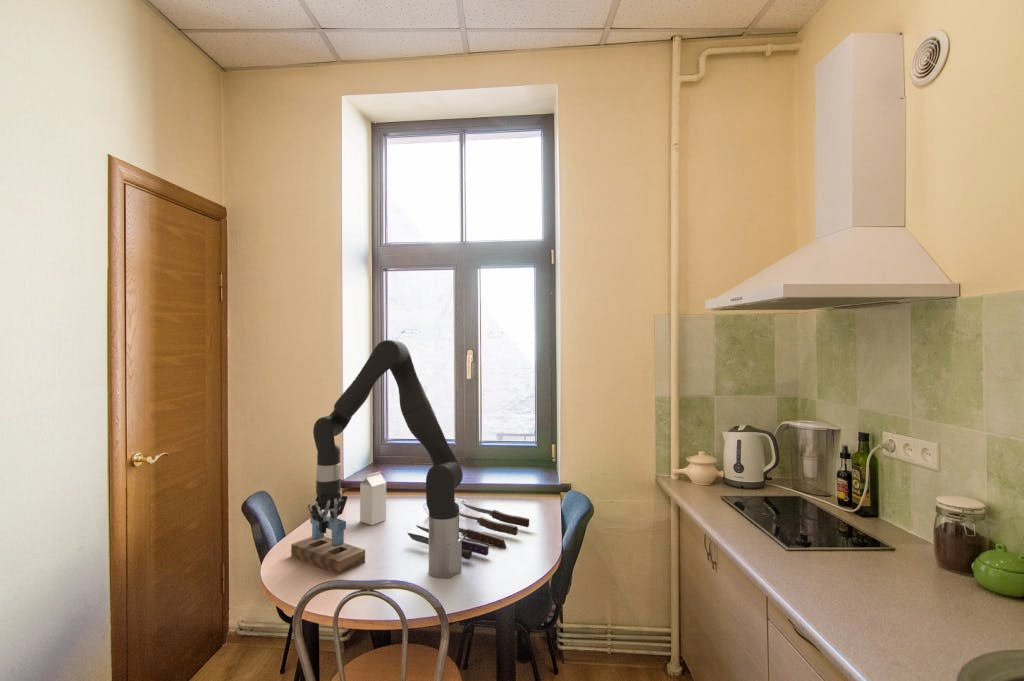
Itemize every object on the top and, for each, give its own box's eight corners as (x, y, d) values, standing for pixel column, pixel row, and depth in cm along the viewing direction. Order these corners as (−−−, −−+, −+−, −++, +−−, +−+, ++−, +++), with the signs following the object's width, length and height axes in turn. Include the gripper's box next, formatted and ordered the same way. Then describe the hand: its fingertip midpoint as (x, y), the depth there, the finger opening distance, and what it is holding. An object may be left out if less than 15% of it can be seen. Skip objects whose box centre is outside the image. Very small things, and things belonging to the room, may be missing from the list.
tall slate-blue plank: (345, 544, 153) (345, 521, 153) (337, 548, 151) (338, 523, 151) (318, 535, 161) (318, 513, 161) (310, 538, 158) (310, 515, 158)
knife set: (460, 512, 198) (461, 494, 197) (531, 532, 181) (531, 512, 180) (399, 543, 168) (400, 521, 167) (477, 571, 151) (477, 546, 150)
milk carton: (386, 520, 192) (386, 472, 192) (371, 525, 186) (372, 476, 186) (374, 517, 196) (374, 469, 196) (359, 522, 190) (360, 473, 190)
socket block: (365, 562, 153) (365, 549, 153) (338, 574, 145) (338, 561, 145) (317, 546, 166) (318, 534, 166) (291, 556, 158) (291, 544, 158)
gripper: (316, 484, 148) (316, 540, 148) (353, 474, 160) (353, 526, 160) (301, 480, 152) (301, 535, 152) (339, 471, 164) (338, 522, 164)
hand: (327, 530), depth 156 cm, fingers closed on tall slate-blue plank, 3 cm apart
